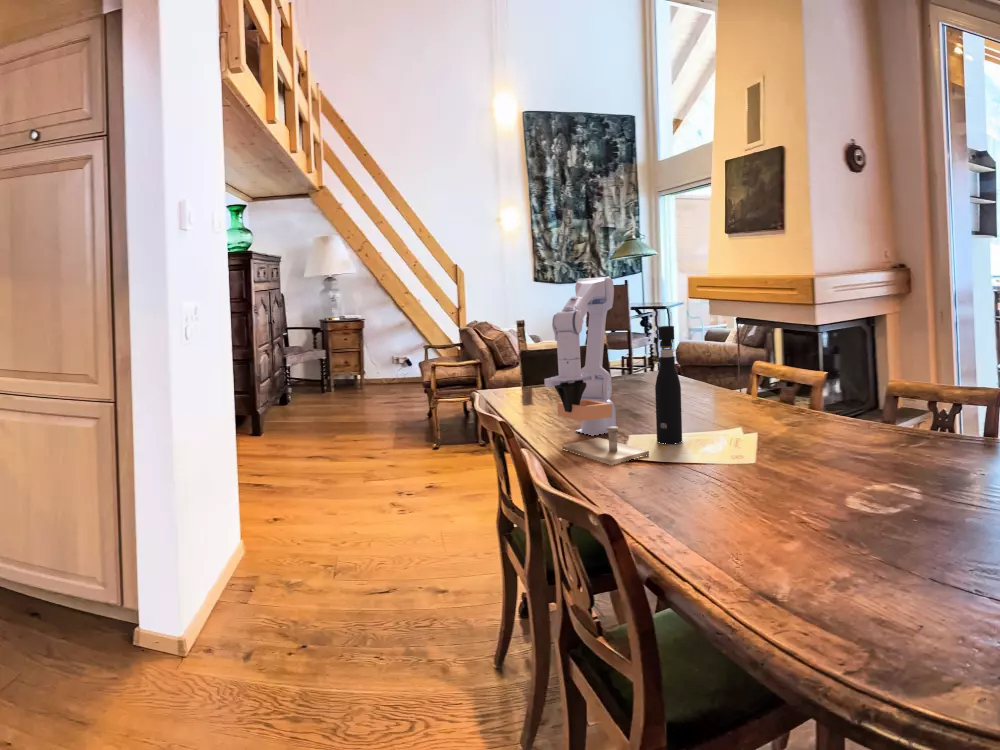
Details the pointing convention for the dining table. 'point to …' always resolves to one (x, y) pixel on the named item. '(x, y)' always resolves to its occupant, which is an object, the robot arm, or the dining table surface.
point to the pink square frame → (586, 410)
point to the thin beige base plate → (606, 449)
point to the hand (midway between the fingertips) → (571, 410)
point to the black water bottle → (668, 392)
